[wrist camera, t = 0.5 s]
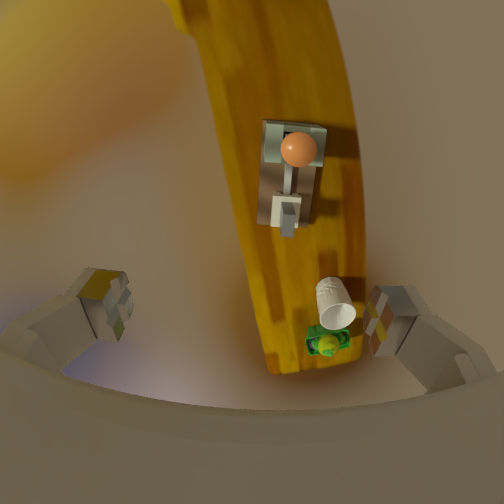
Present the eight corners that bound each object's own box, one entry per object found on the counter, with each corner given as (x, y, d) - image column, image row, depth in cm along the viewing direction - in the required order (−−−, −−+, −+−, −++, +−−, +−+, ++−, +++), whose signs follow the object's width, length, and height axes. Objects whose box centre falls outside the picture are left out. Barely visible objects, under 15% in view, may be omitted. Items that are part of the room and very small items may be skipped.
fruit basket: (307, 342, 74) (311, 375, 65) (301, 321, 70) (306, 356, 60) (346, 333, 72) (355, 365, 63) (344, 311, 68) (354, 345, 58)
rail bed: (262, 119, 45) (263, 123, 37) (318, 124, 45) (330, 130, 37) (257, 220, 55) (256, 242, 48) (306, 223, 55) (313, 245, 48)
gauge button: (280, 127, 38) (282, 130, 35) (313, 130, 38) (318, 134, 35) (277, 159, 41) (279, 165, 37) (310, 162, 41) (314, 168, 37)
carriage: (272, 191, 50) (274, 207, 43) (299, 193, 50) (306, 210, 43) (270, 220, 53) (271, 241, 46) (296, 222, 53) (301, 242, 46)
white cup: (350, 289, 64) (361, 318, 55) (322, 304, 67) (329, 334, 58) (336, 268, 61) (347, 297, 52) (307, 284, 63) (313, 315, 55)
